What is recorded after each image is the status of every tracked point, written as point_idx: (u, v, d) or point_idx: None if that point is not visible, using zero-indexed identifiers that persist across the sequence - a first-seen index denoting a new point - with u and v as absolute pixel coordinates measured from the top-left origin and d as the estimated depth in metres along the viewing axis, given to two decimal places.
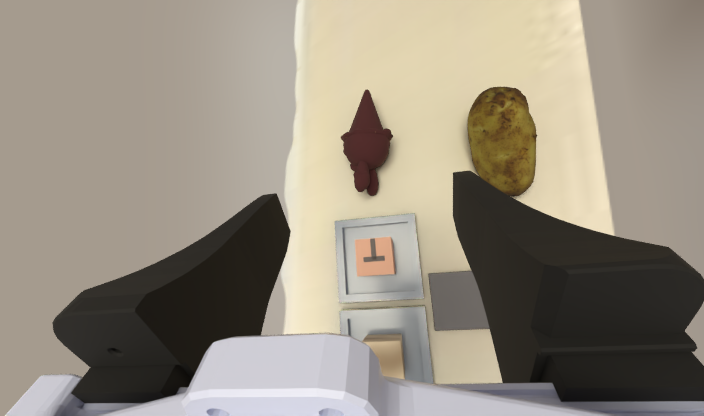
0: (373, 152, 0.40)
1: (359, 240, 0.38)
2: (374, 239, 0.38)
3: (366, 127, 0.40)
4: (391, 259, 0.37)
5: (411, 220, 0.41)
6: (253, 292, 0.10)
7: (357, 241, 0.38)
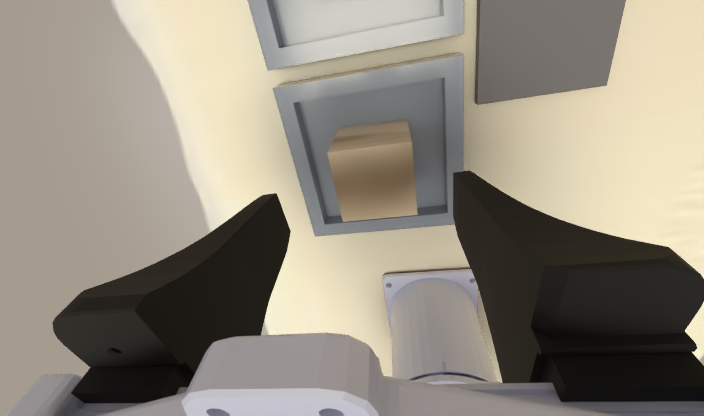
0: None
1: None
2: None
3: None
4: None
5: None
6: (253, 292, 0.10)
7: None
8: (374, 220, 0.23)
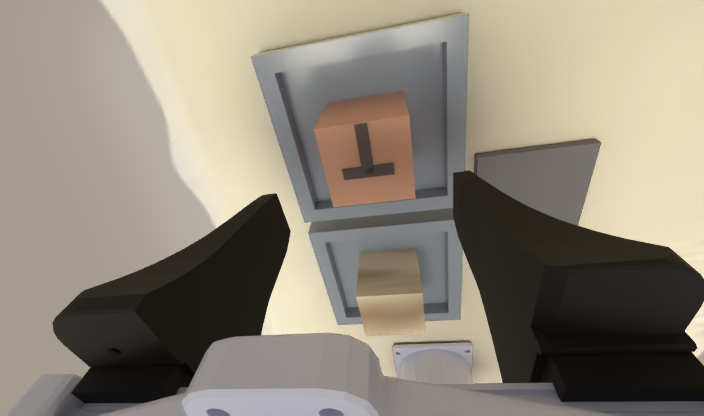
0: None
1: (326, 130, 0.15)
2: (366, 126, 0.14)
3: None
4: (410, 170, 0.15)
5: (457, 38, 0.15)
6: (253, 292, 0.10)
7: (321, 133, 0.15)
8: None
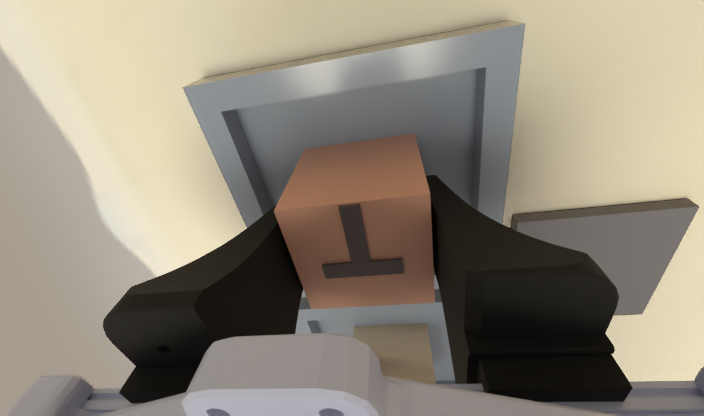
0: None
1: (294, 213, 0.09)
2: (358, 209, 0.09)
3: None
4: (428, 267, 0.10)
5: (504, 61, 0.09)
6: (288, 290, 0.10)
7: (287, 216, 0.09)
8: None
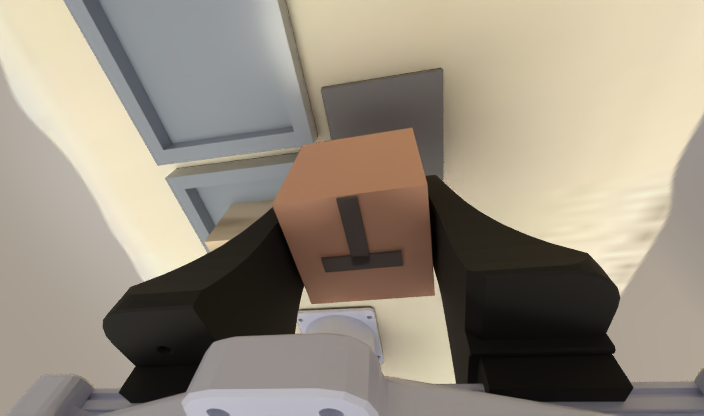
0: None
1: (292, 206, 0.09)
2: (356, 201, 0.09)
3: None
4: (427, 259, 0.10)
5: None
6: (288, 290, 0.10)
7: (285, 210, 0.09)
8: None
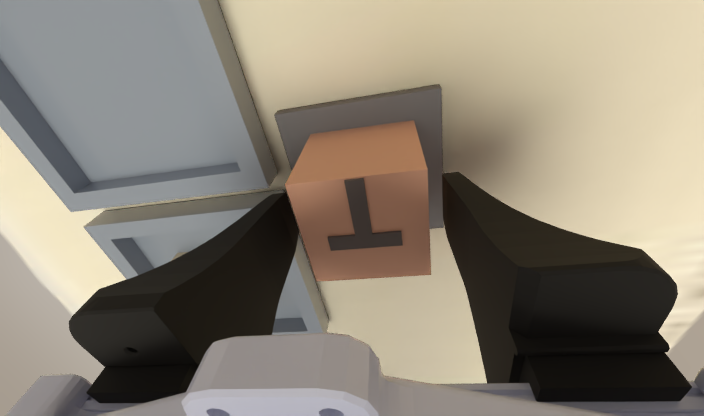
0: None
1: (304, 187, 0.10)
2: (362, 183, 0.10)
3: None
4: (425, 240, 0.11)
5: None
6: (264, 291, 0.10)
7: (297, 190, 0.10)
8: None
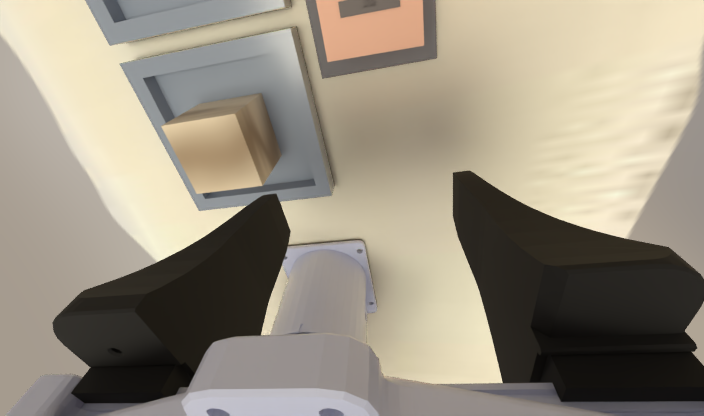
0: None
1: None
2: None
3: None
4: (419, 0, 0.13)
5: None
6: (253, 292, 0.10)
7: None
8: (250, 194, 0.24)
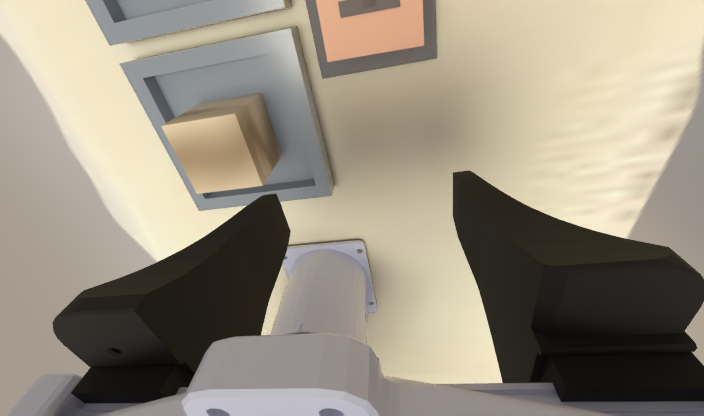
0: None
1: None
2: None
3: None
4: (419, 0, 0.13)
5: None
6: (253, 292, 0.10)
7: None
8: (250, 194, 0.24)
